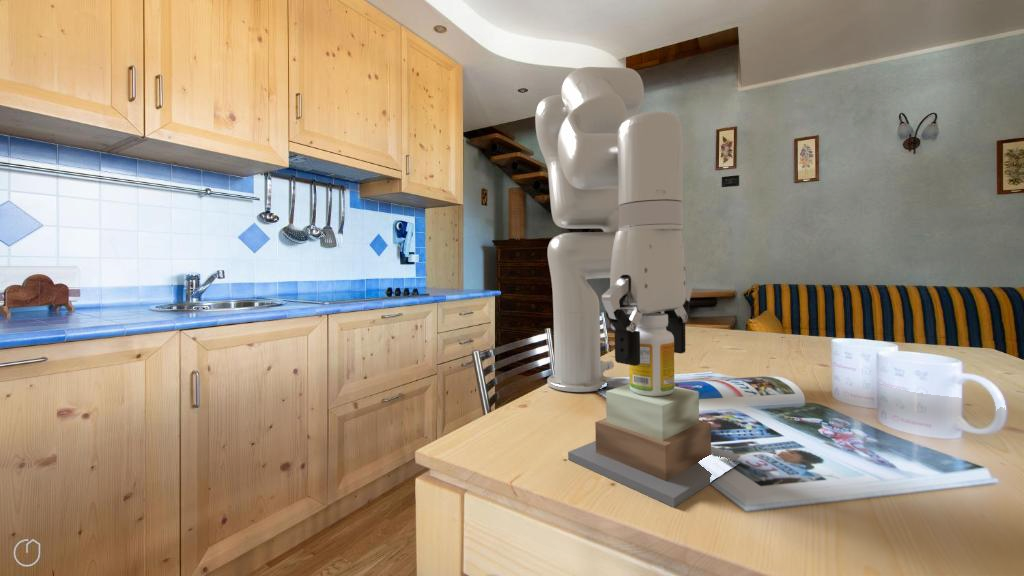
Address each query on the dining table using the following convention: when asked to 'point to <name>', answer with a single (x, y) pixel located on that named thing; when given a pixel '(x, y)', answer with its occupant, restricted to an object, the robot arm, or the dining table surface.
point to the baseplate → (647, 484)
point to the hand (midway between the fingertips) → (651, 357)
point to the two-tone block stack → (653, 431)
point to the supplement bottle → (654, 357)
